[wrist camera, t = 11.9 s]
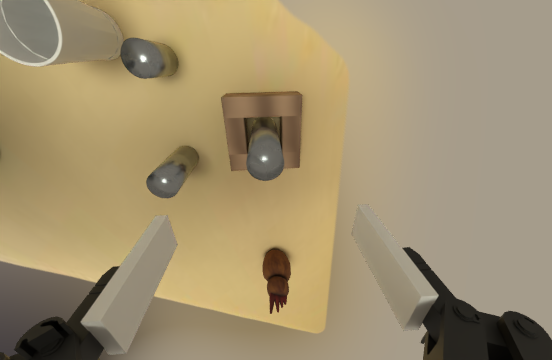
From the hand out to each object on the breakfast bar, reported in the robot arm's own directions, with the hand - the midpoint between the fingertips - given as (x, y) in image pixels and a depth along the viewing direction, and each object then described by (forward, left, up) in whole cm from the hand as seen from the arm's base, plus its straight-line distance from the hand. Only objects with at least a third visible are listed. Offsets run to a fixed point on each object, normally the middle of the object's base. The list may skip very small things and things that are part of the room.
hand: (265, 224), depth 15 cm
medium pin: (-15, -5, -26) cm, 31 cm away
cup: (-23, +14, -27) cm, 38 cm away
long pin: (0, 0, -26) cm, 27 cm away
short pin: (-15, +11, -26) cm, 32 cm away
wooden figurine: (+2, -33, -27) cm, 43 cm away
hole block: (0, 0, -26) cm, 27 cm away
